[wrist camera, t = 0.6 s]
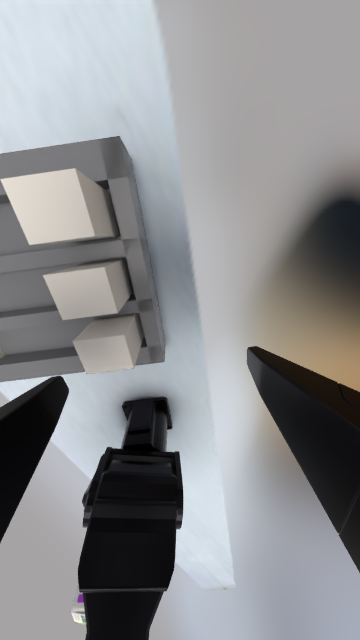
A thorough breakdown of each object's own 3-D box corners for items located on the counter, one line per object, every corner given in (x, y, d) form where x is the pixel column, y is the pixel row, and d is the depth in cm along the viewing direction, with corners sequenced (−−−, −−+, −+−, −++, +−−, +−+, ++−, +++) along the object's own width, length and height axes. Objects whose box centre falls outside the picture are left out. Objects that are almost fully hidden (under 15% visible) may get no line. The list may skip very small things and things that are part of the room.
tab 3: (143, 336, 20) (134, 368, 15) (107, 340, 20) (86, 374, 15) (137, 309, 18) (124, 334, 13) (98, 314, 18) (72, 341, 13)
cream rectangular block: (119, 236, 15) (95, 236, 11) (74, 242, 15) (29, 244, 11) (108, 192, 14) (75, 168, 9) (59, 199, 14) (0, 179, 9)
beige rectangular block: (133, 292, 17) (117, 313, 13) (93, 297, 18) (62, 320, 13) (124, 258, 16) (104, 267, 11) (81, 264, 16) (42, 275, 11)
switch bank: (165, 344, 22) (164, 363, 19) (9, 363, 22) (-20, 385, 19) (131, 158, 14) (118, 134, 11) (-104, 192, 15) (-185, 179, 12)
